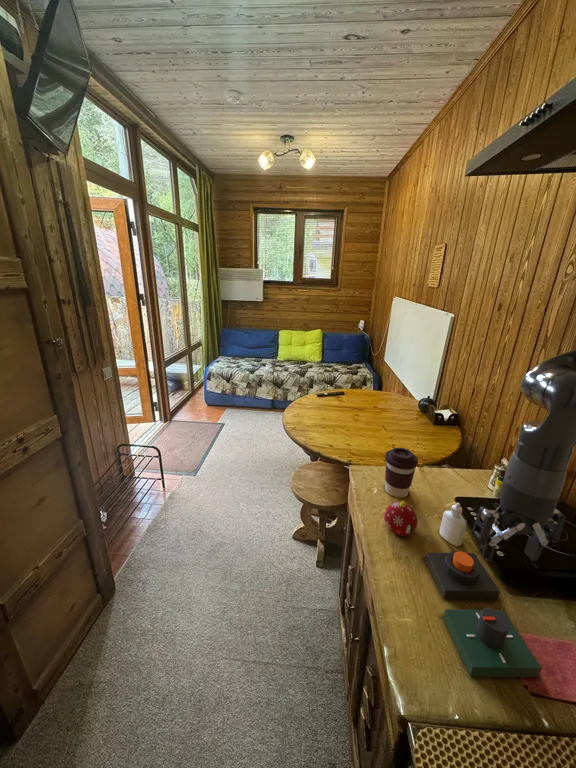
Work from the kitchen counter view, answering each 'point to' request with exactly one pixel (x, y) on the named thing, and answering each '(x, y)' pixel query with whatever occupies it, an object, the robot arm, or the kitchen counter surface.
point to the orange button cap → (463, 562)
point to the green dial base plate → (485, 659)
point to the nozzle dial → (492, 628)
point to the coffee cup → (399, 471)
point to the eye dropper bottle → (453, 525)
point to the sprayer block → (460, 578)
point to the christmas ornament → (400, 518)
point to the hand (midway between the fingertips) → (507, 557)
